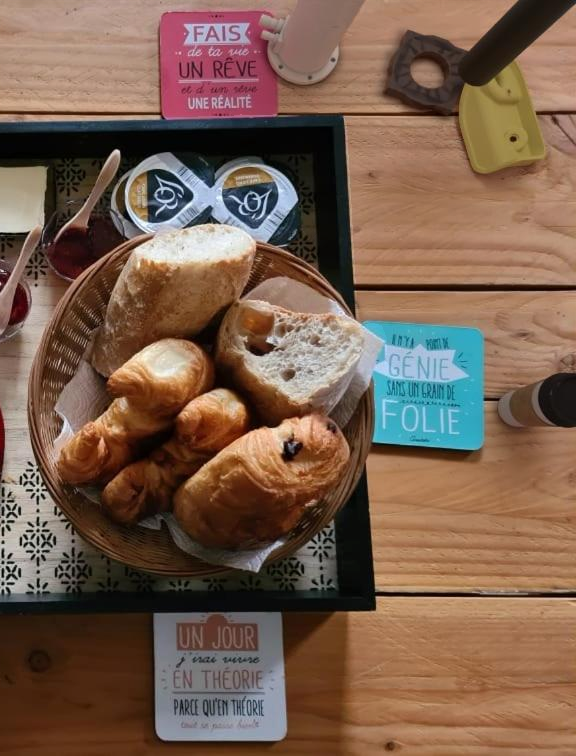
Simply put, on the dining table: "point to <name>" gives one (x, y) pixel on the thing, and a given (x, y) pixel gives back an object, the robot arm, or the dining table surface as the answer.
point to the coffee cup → (542, 403)
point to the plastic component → (500, 122)
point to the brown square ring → (410, 90)
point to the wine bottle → (510, 38)
